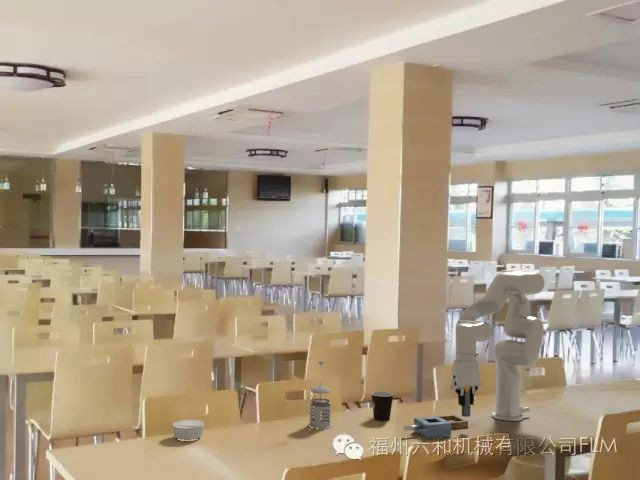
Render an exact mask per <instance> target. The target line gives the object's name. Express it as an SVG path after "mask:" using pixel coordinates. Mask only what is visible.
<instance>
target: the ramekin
mask: <svg viewBox="0 0 640 480" xmlns="http://www.w3.org/2000/svg"><path fill="white" fill-rule="evenodd" d="M204 426H205V423H204V421H202V420H198V419H181V420H178V421H175V422H173V423H172V425H171V427H172V431H173V437H174V439H175V438H177V439H182V440H183V439H184V440H191V439H197V438H200V437H201V436H202V437H203V433H204V432H203V431H204ZM202 437H201V438H202ZM201 438H200V439H201Z"/></svg>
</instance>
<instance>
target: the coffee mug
mask: <svg viewBox="0 0 640 480" xmlns="http://www.w3.org/2000/svg"><path fill="white" fill-rule="evenodd" d="M393 397H394V394H393V393H392V392H389V391H374V392H371V402H372V413H373V420H375V421H378V422H388V421H390V419H391V412H392V405H393V399H394V398H393Z"/></svg>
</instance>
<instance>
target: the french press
mask: <svg viewBox="0 0 640 480" xmlns="http://www.w3.org/2000/svg"><path fill="white" fill-rule="evenodd" d="M318 365H324V361H323V360H320V361H318ZM309 391H310V393H312V394H318V395H320V396H319V398H316V395H314V396H313V395H312V394H311V395H309V397H308V398H307V401H306V404H308V403H309V399H310V398H311V400H310V403H309V409H308V408H306V411H307V413H308V415H309V423H308V424H307V425H309V426H311V427H313V428H318V429H317V430H328V428H329V429H332V428H333V424H332V423H331V404H330V402H331V401H330V399H328V398H322V396H321V395H322V394H329V393H331V391H332V389H330V388H329V387H327V386H324V385H322V382H320V385H316V386H314V387H312V388H311V389H309Z"/></svg>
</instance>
